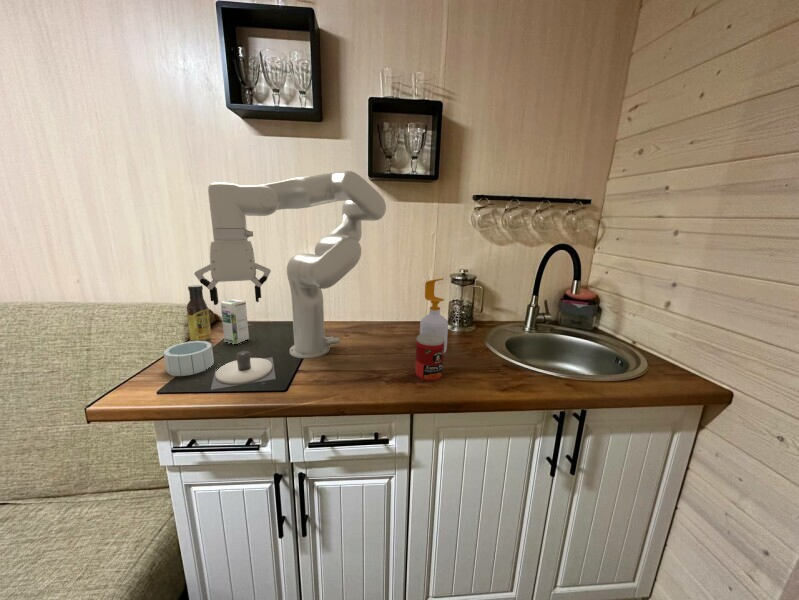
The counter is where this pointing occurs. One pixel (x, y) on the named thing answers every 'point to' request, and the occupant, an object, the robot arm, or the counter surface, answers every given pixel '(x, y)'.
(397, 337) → the counter surface
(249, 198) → the robot arm
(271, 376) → the mat
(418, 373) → the canned food
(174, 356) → the bowl
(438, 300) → the soap bottle
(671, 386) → the counter surface
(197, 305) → the sauce bottle
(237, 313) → the syrup box
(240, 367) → the lid
